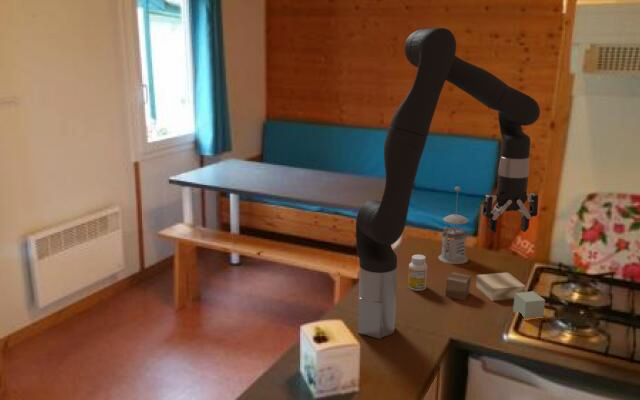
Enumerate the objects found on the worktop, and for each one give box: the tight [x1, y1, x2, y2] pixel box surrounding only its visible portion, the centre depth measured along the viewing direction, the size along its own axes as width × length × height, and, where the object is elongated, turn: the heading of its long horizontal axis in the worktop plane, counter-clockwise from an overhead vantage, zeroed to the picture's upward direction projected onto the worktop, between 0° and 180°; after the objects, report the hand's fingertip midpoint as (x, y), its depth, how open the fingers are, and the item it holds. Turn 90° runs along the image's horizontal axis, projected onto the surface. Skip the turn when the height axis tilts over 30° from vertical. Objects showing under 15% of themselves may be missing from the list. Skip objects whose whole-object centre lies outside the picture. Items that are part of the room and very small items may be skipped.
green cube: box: [512, 290, 546, 319], centre depth 151 cm, size 6×6×6 cm
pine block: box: [475, 272, 526, 302], centre depth 166 cm, size 10×10×4 cm
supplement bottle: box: [407, 254, 428, 292], centre depth 168 cm, size 5×5×10 cm
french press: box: [438, 186, 469, 265], centre depth 187 cm, size 10×12×25 cm
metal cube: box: [445, 271, 472, 301], centre depth 164 cm, size 6×6×6 cm
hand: (508, 231), depth 154 cm, fingers open, 8 cm apart
